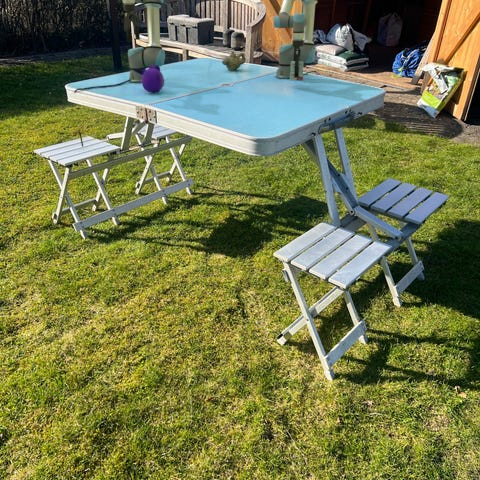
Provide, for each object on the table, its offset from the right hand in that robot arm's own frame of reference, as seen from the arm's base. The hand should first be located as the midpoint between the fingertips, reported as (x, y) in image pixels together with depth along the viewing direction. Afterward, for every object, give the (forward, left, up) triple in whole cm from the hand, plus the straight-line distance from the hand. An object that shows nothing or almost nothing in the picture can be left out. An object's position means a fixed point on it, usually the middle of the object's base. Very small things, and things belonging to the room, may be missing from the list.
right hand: (296, 76), depth 306 cm
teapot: (+29, -78, -7) cm, 83 cm away
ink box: (0, 0, -2) cm, 2 cm away
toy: (+98, -18, -7) cm, 100 cm away
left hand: (+106, -17, +25) cm, 110 cm away
